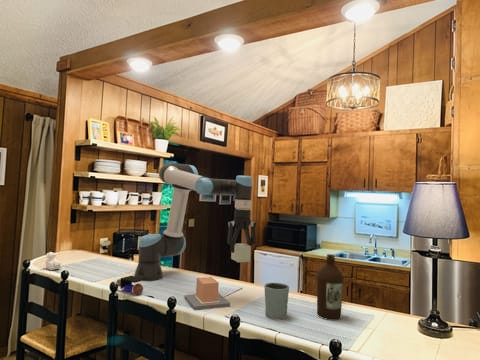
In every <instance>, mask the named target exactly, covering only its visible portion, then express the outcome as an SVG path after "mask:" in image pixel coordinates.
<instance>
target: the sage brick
mask: <svg viewBox="0 0 480 360" xmlns="http://www.w3.org/2000/svg"><path fill="white" fill-rule="evenodd" d="M235 245H236V260H234V261H235V262H236V263H250V262H251V252H252V246H249V245H248V244H246V243H242V242H241V243H237V242H236V243H235ZM230 254H231V256H230V259H231V260H233V259H232V252H231V251H230Z"/></svg>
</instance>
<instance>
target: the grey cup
mask: <svg viewBox="0 0 480 360" xmlns="http://www.w3.org/2000/svg"><path fill="white" fill-rule="evenodd" d="M289 294H290V286H289V285H288V284H285V283H282V282H280V283H279V282H267V283H265V284H264V303H265V310H264V312H265V317H267V318H268V317H269V319H271V318H274V319H273V320H278V319H279V320H284V319H286V318H287V315H288V302H289ZM285 317H286V318H285ZM283 318H284V319H283Z"/></svg>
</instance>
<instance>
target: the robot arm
mask: <svg viewBox="0 0 480 360" xmlns="http://www.w3.org/2000/svg"><path fill="white" fill-rule="evenodd" d="M158 177H159V180H160V181H161V182H163V183H164V184H167V185H171V188H172V189H173V192H172V197H171V203H170V209H169V214H168V220H167V225H166V229H165V230H163V233H162V235H161V233H150V234H145V235H144V234H143V236H141V237H140V238H139V242H138V263H137V266H136V269H135V271H134V273H133V274H134V275H133V276H136V277H140V278H144V279H146V280H144V281H145V282H146V281H147V282H150V281H152V282H153V281H158V280H161V279H162V278H163V273H164V272H163V269H162V267H161V258H165V257H176V256H179V255H181V254H182V253H184V251H185V249H186V246H187V241H186V237H185V236H184V233H183V232H182V230H183V224H184V219H185V213H186V208H187V204H188V198H189V193H190V192H191V191H195V192H196V193H197V194H199V195H203V196H207V195H210V196H211V195H212V196H213V195H214V196H235V197H234V208H235V209H234V219H233V220H232V221H228V222H227V227H228V229H227V230H228V231H227V236H226V237H227V238H226V244H228V245H230V253H231V252H232V259H231V260H233V261H235V260H236V245H235V244H237V239H238V236H239V234H240V232H241V230H243V231H244V234H245V235H244V236H245V238H246V239H245V240H246V243H247V244H246V245H249V246H251V247H252V246H253V245H254V244H256V226H257V222H255V221H252V220H251V216H252V213H251V212H252V211H251V209H252V193H253V192H252V191H253V177H252V176H251V175H236V177H235V179H221V178H210V177H205V176H203V175H199V172H198V169H197V168H196V166H195V165H191V164H186V163H173V162H170V163H169V162H168V163H165V164H163V165H162V166H161V167H160V168H159V171H158ZM234 226H235V227H234ZM249 226H250V228H249ZM233 231H234V232H233ZM144 281H143V282H144Z"/></svg>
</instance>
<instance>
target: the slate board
mask: <svg viewBox="0 0 480 360" xmlns="http://www.w3.org/2000/svg"><path fill="white" fill-rule="evenodd" d="M184 300H185V301H186V302H187V303H188V306H190V307H191V309H192V310H193V311H200V310H210V309H218V308H229V307H231V302H229V301H228V300H227V299H226V298H225V297H224V296H223V295H221V294H220V293H219V292H218V301H215V302H204V303H202V302H201V301H200V300H199V298H198V297H197V296H196V293H192V294H184Z"/></svg>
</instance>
